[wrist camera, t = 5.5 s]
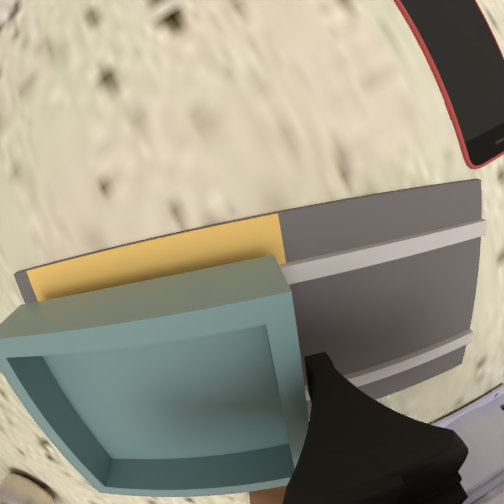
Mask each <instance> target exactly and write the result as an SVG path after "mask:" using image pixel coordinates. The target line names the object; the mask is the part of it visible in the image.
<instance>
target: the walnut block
mask: <svg viewBox="0 0 504 504" xmlns="http://www.w3.org/2000/svg"><path fill="white" fill-rule="evenodd" d="M286 487H287V485H286V486H281V487H275V488H270V489H264V490H257V491H250V492H249V493H250V503H251V504H282V503H283V499H284V495H285V491H286Z"/></svg>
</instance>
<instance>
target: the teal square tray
mask: <svg viewBox="0 0 504 504" xmlns="http://www.w3.org/2000/svg"><path fill="white" fill-rule="evenodd" d="M0 369H1V371H2V373H3V374H4V376H5V378H6V379H7V381H8V383H9V384H10V386H11V387H12V389H13V390H14V392H15V393H16V395H17V396H18V398H19V399H20V401H21V402H22V404H23V405H24V407H25V408H26V409H27V411H28V412H29V413H30V415H31V416H32V418H33V419H34V420H35V422H36V423H37V424H38V425H39V427H40V428H41V429H42V431H43V432H44V433H45V434H46V436H47V437H48V438H49V439H50V440H51V442H52V443H53V444H54V445H55V446H56V448H57V449H58V450H59V451H60V452H61V453H62V454H63V456H64V457H65V458H66V459H67V460H68V461H69V462H70V463H71V464H72V465H73V466H74V468H75V469H76V470H77V471H78V472H79V473H80V474H81V475H82V476H83V477H84V478H85V479H86V480H87V481H88V482H89V483H90V484H91V485H92V486H93V487H94V488H96V489H97V490H98V491H99V492H100V493H109V494H119V495H131V496H151V497H190V496H210V495H223V494H233V493H242V492H250V491H257V490H264V489H270V488H275V487H281V486H286V485H288V482H289V480H290V478H291V476H292V474H293V472H294V470H295V467H296V465H297V462H298V459H299V457H300V454H301V451H302V448H303V445H304V442H305V438H306V434H307V430H308V425H309V420H308V411H307V403H306V394H305V386H304V378H303V370H302V363H301V355H300V348H299V340H298V333H297V326H296V319H295V312H294V305H293V298H292V291H291V289H290V287H289V285H288V283H287V281H286V279H285V277H284V274H283V272H282V270H281V268H280V266H279V264H278V262H277V260H276V258H275V256H274V255H269V256H265V257H260V258H255V259H250V260H245V261H240V262H235V263H230V264H226V265H221V266H216V267H211V268H206V269H201V270H196V271H191V272H186V273H181V274H176V275H171V276H166V277H161V278H156V279H151V280H146V281H141V282H136V283H131V284H126V285H121V286H116V287H111V288H106V289H101V290H96V291H91V292H86V293H80V294H75V295H70V296H65V297H60V298H55V299H49V300H44V301H39V302H34V303H29V304H23V305H20V306H19V307H18V308H17V309H16V310H15V311H14V312H13V313H12V314H11V315H9V316H8V317H7V318H6V319H5V320H4V321H3V322H2V323H1V324H0Z"/></svg>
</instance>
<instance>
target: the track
mask: <svg viewBox="0 0 504 504" xmlns="http://www.w3.org/2000/svg"><path fill="white" fill-rule="evenodd" d="M484 235H486V220H483V219H481V180H480V179H473V180H466V181H458V182H451V183H444V184H437V185H430V186H423V187H417V188H410V189H404V190H397V191H391V192H385V193H379V194H373V195H367V196H361V197H355V198H349V199H343V200H338V201H332V202H327V203H321V204H316V205H310V206H305V207H299V208H294V209H289V210H284V211H278V212H273V213H268V214H263V215H258V216H253V217H248V218H243V219H238V220H233V221H228V222H224V223H219V224H214V225H209V226H205V227H200V228H195V229H191V230H186V231H182V232H177V233H173V234H168V235H164V236H159V237H155V238H151V239H146V240H142V241H138V242H133V243H129V244H125V245H121V246H117V247H112V248H108V249H104V250H100V251H96V252H92V253H88V254H84V255H80V256H76V257H72V258H68V259H64V260H60V261H57V262H53V263H49V264H45V265H41V266H38V267H34V268H30V269H27V270H23V271H19V272H16V273H15V274H14V276H15V279H16V282H17V284H18V287H19V289H20V292H21V294H22V297H23V299H24V302H25V304H29V303H34V302H39V301H44V300H49V299H55V298H60V297H65V296H70V295H75V294H80V293H86V292H91V291H96V290H101V289H106V288H111V287H116V286H121V285H126V284H131V283H136V282H141V281H146V280H151V279H156V278H161V277H166V276H171V275H176V274H181V273H186V272H191V271H196V270H201V269H206V268H211V267H216V266H221V265H226V264H230V263H235V262H240V261H245V260H250V259H255V258H260V257H265V256H269V255H274V256H275V258H276V260H277V262H278V264H279V266H280V268H281V270H282V272H283V274H284V277H285V279H286V281H287V283H288V285H289V287H290V289H291V291H292V298H293V305H294V312H295V319H296V326H297V333H298V340H299V348H300V355H301V363H302V370H303V378H304V386H305V394H306V403H307V411H308V419H310V414H311V406H312V404H311V400H310V397H309V393H308V386H307V377H306V368H305V360H304V357H305V356H309V355H313V354H317V353H321V352H326V353H327V355H328V356H329V357H330V359H331V360H332V362H333V365H334V367H335V369H336V370H337V371H338V372H339V373H341V374H342V375H343V376H344V377H345V378H346V379H347V380H349V381H350V382H351V383H352V384H353V385H355V386H356V387H357V388H359V389H360V390H361V391H363V392H364V393H365V394H367V395H368V396H370V397H371V398H373V399H374V400H375V399H378V398H381V397H384V396H387V395H389V394H392V393H395V392H397V391H400V390H403V389H405V388H408V387H410V386H413V385H415V384H418V383H420V382H422V381H425V380H427V379H430V378H432V377H434V376H436V375H439V374H441V373H443V372H445V371H447V370H449V369H452V368H454V367H456V366H458V365H460V364H462V360H463V356H464V352H465V348H466V344H468V343H470V342H471V339H472V335H473V331H471V330H470V324H471V318H472V312H473V306H474V300H475V293H476V285H477V277H478V267H479V256H480V241H481V236H484Z"/></svg>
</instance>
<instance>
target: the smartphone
mask: <svg viewBox="0 0 504 504" xmlns="http://www.w3.org/2000/svg"><path fill="white" fill-rule="evenodd" d="M394 2H395V3H396V5H397V6H398V8H399V10H400V11H401V13H402V15H403V16H404V18H405V20H406V22H407V23H408V25H409V27H410V29H411V30H412V32H413V34H414V36H415V38H416V40H417V42H418V44H419V45H420V47H421V49H422V51H423V53H424V55H425V57H426V60H427V62H428V64H429V66H430V68H431V70H432V72H433V75H434V77H435V79H436V82H437V84H438V86H439V89H440V91H441V94H442V96H443V99H444V101H445V105H446V108H447V111H448V113H449V116H450V119H451V120H452V123H453V126H454V129H455V132H456V135H457V138H458V141H459V144H460V147H461V151H462V154H463V157H464V160H465V163H466V164H467V166H468V167H469V168H471V169H478V168H481V167H483V166H485V165H487V164H488V163H490V162H492V161H493V160H495V159H497V158H498V157H500V156H501V155H503V154H504V57H503V55H502V53H501V50H500V48H499V46H498V43H497V41H496V39H495V37H494V35H493V33H492V31H491V29H490V27H489V25H488V23H487V21H486V19H485V17H484V15H483V13H482V11H481V9H480V7H479V6H478V4H477V2H476V0H394Z"/></svg>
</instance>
